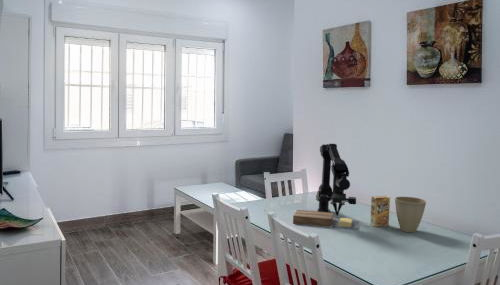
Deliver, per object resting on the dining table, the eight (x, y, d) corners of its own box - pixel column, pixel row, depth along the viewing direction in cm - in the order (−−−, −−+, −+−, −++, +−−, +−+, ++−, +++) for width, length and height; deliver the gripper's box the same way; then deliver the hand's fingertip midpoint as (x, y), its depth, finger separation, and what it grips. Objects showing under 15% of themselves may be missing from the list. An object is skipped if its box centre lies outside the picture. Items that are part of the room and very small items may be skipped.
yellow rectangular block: (352, 218, 227) (351, 222, 227) (340, 217, 229) (340, 221, 229) (351, 223, 218) (351, 227, 219) (339, 222, 220) (339, 225, 220)
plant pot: (424, 236, 207) (426, 204, 206) (392, 232, 213) (394, 201, 211) (423, 228, 221) (425, 198, 220) (393, 224, 226) (395, 195, 225)
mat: (334, 219, 233) (334, 218, 233) (358, 221, 230) (358, 221, 230) (332, 227, 218) (332, 226, 218) (358, 230, 215) (358, 229, 215)
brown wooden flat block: (296, 216, 238) (297, 209, 237) (333, 220, 233) (333, 212, 232) (293, 223, 224) (293, 215, 224) (331, 227, 219) (331, 219, 219)
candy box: (374, 226, 221) (375, 197, 220) (369, 224, 225) (371, 196, 224) (388, 225, 224) (390, 197, 223) (384, 223, 228) (385, 195, 227)
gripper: (318, 187, 218) (317, 217, 219) (356, 190, 213) (354, 221, 215) (321, 183, 229) (319, 212, 230) (356, 186, 224) (355, 215, 225)
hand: (337, 215), depth 225 cm, fingers closed
